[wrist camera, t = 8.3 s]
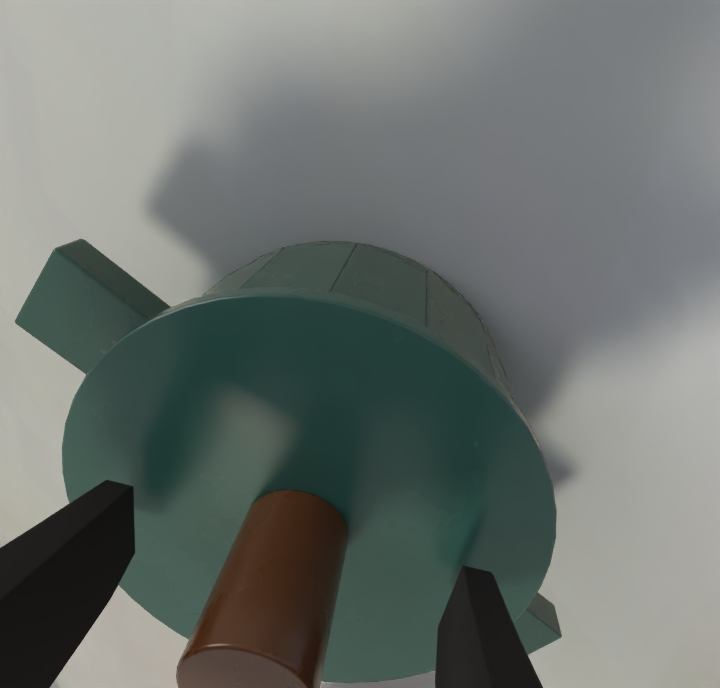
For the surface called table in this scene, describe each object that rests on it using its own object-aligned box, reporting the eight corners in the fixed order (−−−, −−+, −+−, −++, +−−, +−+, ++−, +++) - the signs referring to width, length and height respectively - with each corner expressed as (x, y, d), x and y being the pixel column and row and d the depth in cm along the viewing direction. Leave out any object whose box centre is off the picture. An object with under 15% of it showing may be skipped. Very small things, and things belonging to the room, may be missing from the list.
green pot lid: (254, 151, 9) (98, 186, 5) (654, 505, 11) (792, 746, 7) (22, 486, 14) (-163, 656, 9) (338, 692, 16) (304, 906, 11)
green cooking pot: (236, 89, 13) (121, 76, 8) (629, 447, 16) (716, 592, 11) (71, 349, 17) (-69, 442, 12) (407, 593, 20) (400, 745, 15)
